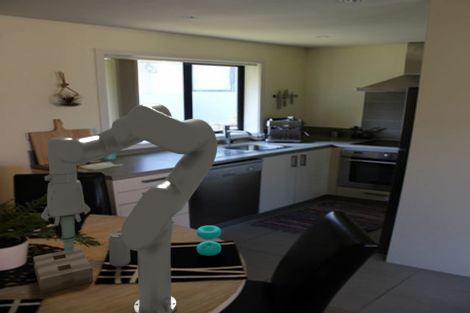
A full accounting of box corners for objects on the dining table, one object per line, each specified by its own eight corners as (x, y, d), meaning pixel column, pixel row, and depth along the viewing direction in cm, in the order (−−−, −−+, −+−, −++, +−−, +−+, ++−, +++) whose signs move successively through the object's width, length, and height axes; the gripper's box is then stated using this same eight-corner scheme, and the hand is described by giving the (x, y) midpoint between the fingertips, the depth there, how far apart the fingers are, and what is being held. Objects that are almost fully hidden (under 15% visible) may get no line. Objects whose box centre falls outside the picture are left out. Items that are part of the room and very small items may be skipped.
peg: (78, 253, 121) (75, 216, 120) (62, 256, 119) (59, 218, 117) (75, 248, 125) (72, 212, 123) (60, 251, 123) (57, 214, 121)
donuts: (193, 226, 160) (216, 223, 163) (193, 249, 161) (216, 245, 165) (200, 234, 150) (224, 231, 154) (200, 258, 152) (224, 254, 156)
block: (93, 281, 133) (92, 267, 132) (41, 293, 124) (40, 279, 124) (80, 259, 150) (80, 247, 149) (34, 269, 141) (33, 256, 140)
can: (124, 268, 143) (123, 237, 141) (106, 266, 144) (104, 236, 142) (133, 260, 150) (132, 230, 148) (116, 258, 151) (114, 229, 149)
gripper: (34, 183, 111) (39, 244, 114) (95, 176, 120) (98, 233, 123) (31, 179, 117) (36, 236, 120) (89, 172, 126) (93, 226, 129)
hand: (68, 234), depth 121 cm, fingers closed on peg, 4 cm apart
